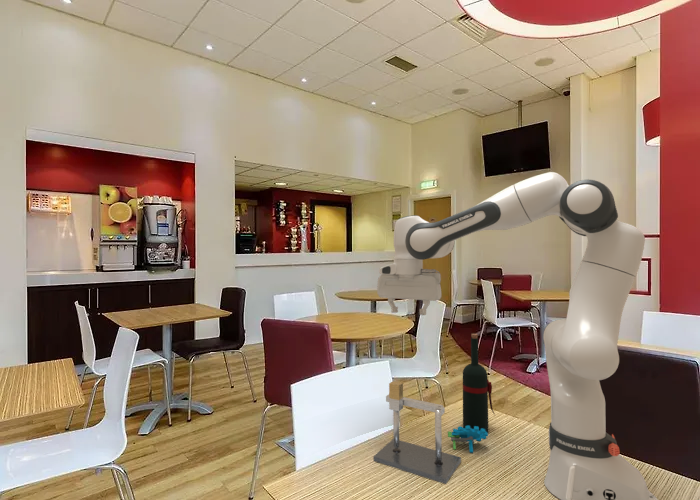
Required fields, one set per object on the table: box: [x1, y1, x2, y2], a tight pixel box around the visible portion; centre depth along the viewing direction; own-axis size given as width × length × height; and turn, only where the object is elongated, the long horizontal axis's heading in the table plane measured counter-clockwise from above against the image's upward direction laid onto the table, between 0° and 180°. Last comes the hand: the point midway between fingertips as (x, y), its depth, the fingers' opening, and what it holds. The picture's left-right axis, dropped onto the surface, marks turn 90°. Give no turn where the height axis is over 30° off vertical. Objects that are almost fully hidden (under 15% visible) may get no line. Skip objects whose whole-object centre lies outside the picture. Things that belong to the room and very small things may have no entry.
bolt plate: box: [373, 438, 462, 485], centre depth 105 cm, size 20×12×1 cm, turn 57°
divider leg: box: [388, 380, 404, 449], centre depth 108 cm, size 3×2×18 cm
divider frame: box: [385, 394, 446, 465], centre depth 107 cm, size 17×4×14 cm, turn 57°
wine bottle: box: [462, 333, 496, 434], centre depth 124 cm, size 8×10×30 cm
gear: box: [447, 425, 489, 454], centre depth 111 cm, size 11×6×10 cm
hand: (408, 313), depth 121 cm, fingers open, 8 cm apart
